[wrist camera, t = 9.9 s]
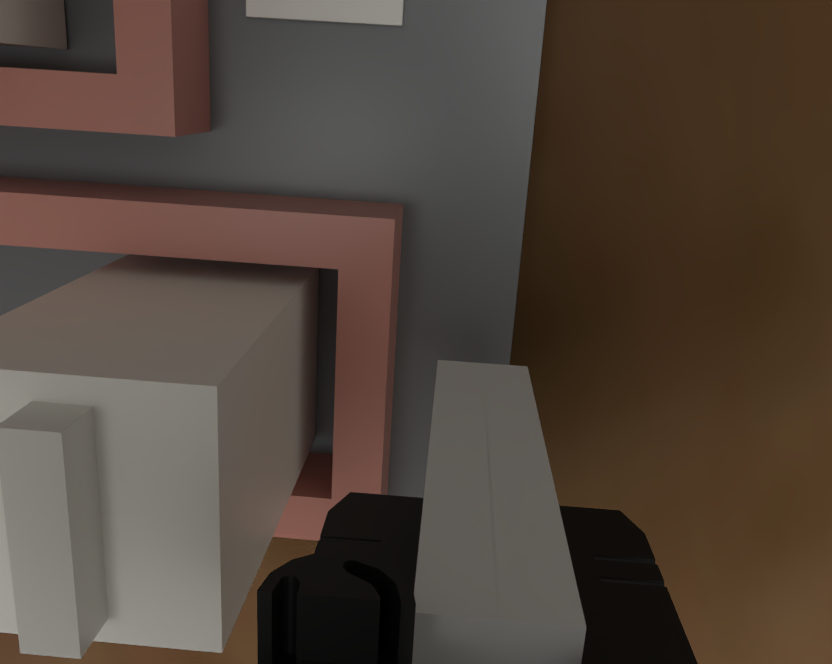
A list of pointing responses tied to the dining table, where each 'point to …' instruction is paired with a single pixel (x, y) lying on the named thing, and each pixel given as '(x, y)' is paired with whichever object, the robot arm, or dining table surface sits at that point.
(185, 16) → the switch bank
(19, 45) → the tab inner
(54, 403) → the block
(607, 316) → the dining table surface
